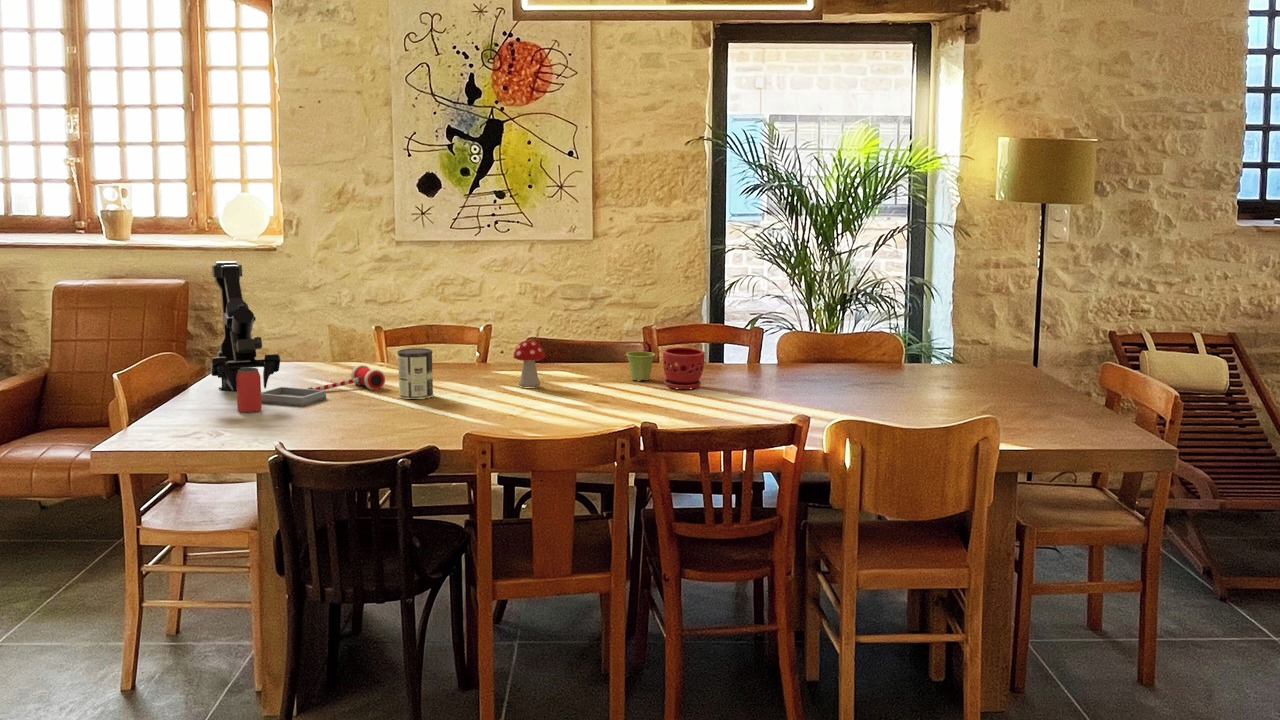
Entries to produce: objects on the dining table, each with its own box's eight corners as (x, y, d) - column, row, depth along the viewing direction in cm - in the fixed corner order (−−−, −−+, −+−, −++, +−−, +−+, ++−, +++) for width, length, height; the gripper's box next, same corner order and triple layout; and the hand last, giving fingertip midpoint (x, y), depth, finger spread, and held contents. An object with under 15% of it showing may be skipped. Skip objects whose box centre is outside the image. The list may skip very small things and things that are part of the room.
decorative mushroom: (547, 385, 406) (547, 338, 404) (542, 390, 398) (542, 342, 395) (516, 384, 407) (516, 337, 405) (511, 389, 399) (510, 341, 396)
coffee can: (419, 392, 394) (418, 346, 391) (440, 396, 387) (439, 350, 384) (391, 396, 386) (390, 350, 384) (412, 401, 379) (411, 354, 377)
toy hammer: (316, 397, 386) (315, 376, 385) (301, 391, 395) (300, 371, 394) (386, 389, 399) (385, 369, 398) (369, 383, 409) (369, 363, 407)
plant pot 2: (656, 389, 400) (656, 351, 398) (671, 382, 412) (671, 345, 410) (695, 393, 396) (696, 354, 394) (709, 385, 408) (710, 348, 406)
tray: (256, 402, 377) (256, 393, 376) (281, 394, 388) (280, 386, 387) (302, 406, 371) (302, 397, 371) (326, 398, 382) (325, 390, 382)
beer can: (266, 409, 366) (264, 368, 364) (252, 414, 360) (250, 372, 358) (247, 407, 368) (245, 366, 366) (232, 412, 362) (230, 370, 360)
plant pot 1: (660, 379, 418) (660, 353, 416) (644, 383, 410) (645, 357, 408) (636, 376, 423) (636, 350, 421) (620, 380, 415) (620, 354, 413)
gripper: (209, 329, 360) (216, 374, 352) (277, 325, 368) (285, 370, 360) (208, 352, 369) (214, 397, 360) (274, 349, 376) (282, 392, 368)
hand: (249, 388), depth 362 cm, fingers open, 8 cm apart
